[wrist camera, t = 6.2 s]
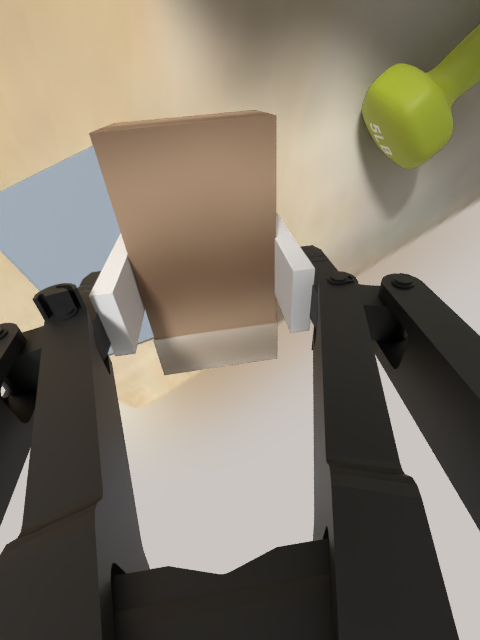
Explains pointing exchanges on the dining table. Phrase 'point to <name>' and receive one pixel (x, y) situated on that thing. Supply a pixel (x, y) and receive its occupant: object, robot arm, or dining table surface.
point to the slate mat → (61, 225)
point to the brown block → (199, 231)
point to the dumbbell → (420, 104)
